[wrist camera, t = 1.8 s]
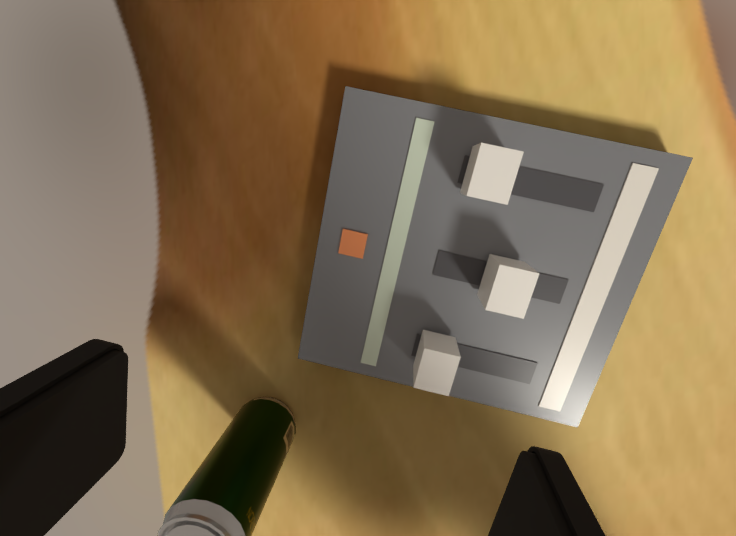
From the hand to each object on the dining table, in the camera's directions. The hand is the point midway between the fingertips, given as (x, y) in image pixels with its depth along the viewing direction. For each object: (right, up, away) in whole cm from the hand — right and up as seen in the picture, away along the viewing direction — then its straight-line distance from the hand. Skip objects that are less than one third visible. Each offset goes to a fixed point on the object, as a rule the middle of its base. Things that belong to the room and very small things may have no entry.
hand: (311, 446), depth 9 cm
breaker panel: (+9, +4, +19) cm, 22 cm away
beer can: (-8, -10, +25) cm, 28 cm away
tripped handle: (+10, +3, +17) cm, 20 cm away
